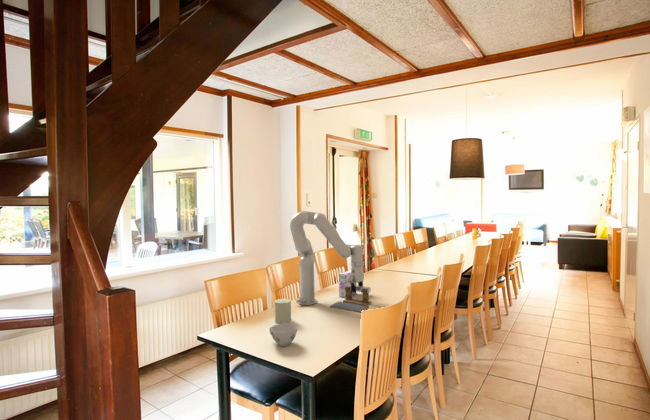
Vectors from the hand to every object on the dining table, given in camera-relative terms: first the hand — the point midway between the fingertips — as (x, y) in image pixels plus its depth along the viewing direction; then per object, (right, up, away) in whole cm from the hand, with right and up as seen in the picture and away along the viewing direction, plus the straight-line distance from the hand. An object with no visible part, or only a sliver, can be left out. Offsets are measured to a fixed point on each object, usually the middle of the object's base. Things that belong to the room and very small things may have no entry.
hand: (357, 290), depth 234 cm
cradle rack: (0, -8, 0) cm, 8 cm away
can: (-45, -11, -32) cm, 56 cm away
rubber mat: (-6, -9, -9) cm, 14 cm away
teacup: (-41, -12, -62) cm, 76 cm away
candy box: (-5, -8, +18) cm, 20 cm away
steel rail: (0, 0, 0) cm, 0 cm away
